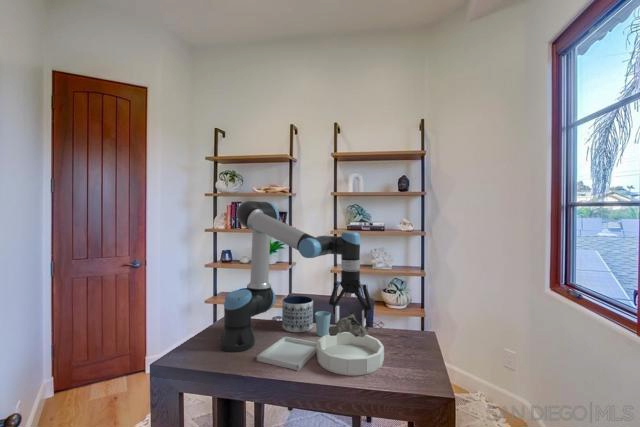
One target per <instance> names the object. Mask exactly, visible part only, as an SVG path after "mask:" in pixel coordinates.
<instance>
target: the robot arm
mask: <svg viewBox="0 0 640 427" xmlns="http://www.w3.org/2000/svg"><path fill="white" fill-rule="evenodd" d="M235 214H236V219H237V221H238V223H240V224H241V225H242V226H244V227H245V228H247V229H249V231H250V232H251V233H252V235H251V236H252V237H251V238H252V239H251V240H252V241H251V259H250V281H249V283H248V284H247V285H246V289H236V290H232V291H230V292H228V293H227V294H226V295H225V297H224V302H223V303H224V304H223V310H224V311H223V315H224V317H223V318H224V319H223V320H224V321H223V330H222V334H221V338H220V340H219V348H220V349H221V350H222V351H224V352H229V353H235V352H236V353H237V352H242V351H243V352H244V351H247V350H249V349H251V348H253V347H254V346H255V343H256V338H255V335H254V332H253V329H252V317H255V316H258V315H260V314H263V313H266V312H267V311H269V310H271V309H272V308H273V306H274V305H275V302H276V293H275V291H274V290H273V288H272V284H271V283H270V282H269V275H270V274H269V273H270V251H271V238H273V239H274V240H277V241H278V242H281V243H283V244H285V245H286V246H288V247H291V248H293V249H295V250H297V251H298V253H300V255H301V256H302V257H303V258H306V259H314V258H316V257H321V256H326V255H338V256H339V255H340V256H341V257H340V260H341V263H340V264H341V265H340V266H341V268H340V269H342V270H341V273H340V274H341V275H340V278H341V279H340V281H338V280H336V281H334V282H333V287H332V292H331V295H330V298H329V301H328V304H329V305H331V306H332V307H333V308H332V314H333V315H335V316H334V319H335V320H334V323H335V324H337V322H338V321H339V319H340V305H339V303H340V302H341V300H342V298H343V297H344V295H345V294H353V295H354V296H356V298H357V300H358V302H359V303H360V305H361V307H362V308H363V309H362V311H361V319H362V320H361V327H367V323H366V321H367V319H368V318H369V311H370V310H372V309H373V307H374V306H373V303H372V299H371V296H370V293H369V289H368V286H369V285H368V283H361V280H360V279H361V271H360V269H361V264H360V263H361V258H360V257H361V255H360V254H361V239H360V237H361V236H360V233H359V232H357V231H342V232H341V235H340V236H336V235H335V236H334V235H333V236H332V235H318V236H313V235H311V234H309V233H307V232H305V231H302V230H300V229H299V228H296V227H294V226H292V225H289V224H287V223H285V222H283V221H281V220H279V219H280V212H279V209H278V208H277V206H276V205H275V204H274V203H271V202H268V201H258V200H257V201H256V200H255V201H254V200H247V201H243V202H242V203H241V204H240V205H239V206H238V207H237V209H236V213H235ZM339 287H341V288H342V289H341V291H340V293H339V294H338V295H337V293H338V291H339V290H338V289H339ZM360 288H361V290H362V292H363V295H364V297H363V295H362V293H361V290H360ZM336 296H337V297H336Z"/></svg>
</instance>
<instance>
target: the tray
mask: <svg viewBox="0 0 640 427" xmlns="http://www.w3.org/2000/svg"><path fill="white" fill-rule="evenodd" d="M315 354H316V355H317V341H316V342H315V341H311V340H306V339H300V338H296V337H290V336H283V337H282V338H280V339H279V340H277V341H276V342H275V343H273V344H271V345H270V346H269V347H267V348H266V349H264V350H263V351H261V352H260V353H258V355H256V361H257V362H261V363H265V364H270V365H273V366H277V367H283V368H285V369H286V368H287V369H291V370H295V371H299V370H301V368H302V367H303V366H304V365H305V364H307V363H308V361H309V360H311V358H313V357H314V356H315Z"/></svg>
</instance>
